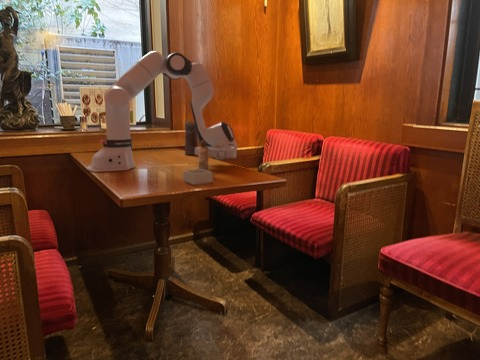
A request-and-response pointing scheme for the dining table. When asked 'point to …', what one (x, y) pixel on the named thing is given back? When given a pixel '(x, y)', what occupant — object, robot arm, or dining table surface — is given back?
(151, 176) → the dining table surface
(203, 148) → the pepper mill
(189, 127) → the candle
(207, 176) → the box
